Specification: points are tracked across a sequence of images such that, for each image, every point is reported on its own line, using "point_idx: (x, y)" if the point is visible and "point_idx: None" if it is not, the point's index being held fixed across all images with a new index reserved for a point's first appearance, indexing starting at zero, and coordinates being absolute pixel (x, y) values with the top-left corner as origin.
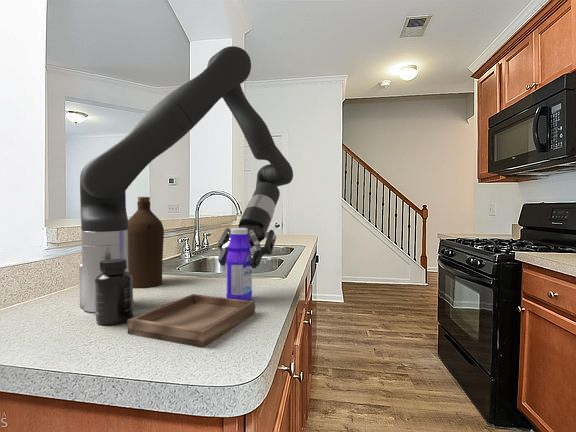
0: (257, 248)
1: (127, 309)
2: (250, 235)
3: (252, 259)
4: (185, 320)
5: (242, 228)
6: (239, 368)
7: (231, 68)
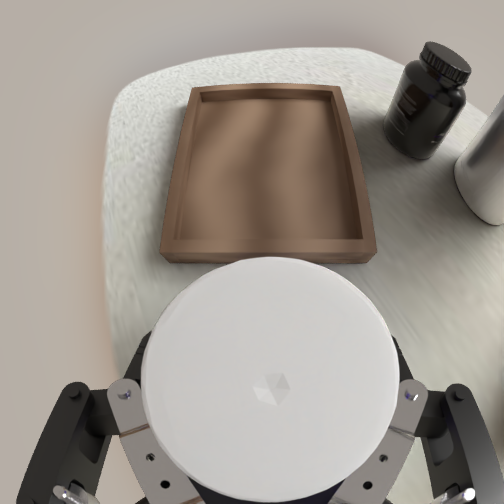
0: (133, 393)
1: (389, 117)
2: (199, 496)
3: None
4: (277, 138)
5: (216, 407)
6: (135, 94)
7: None
